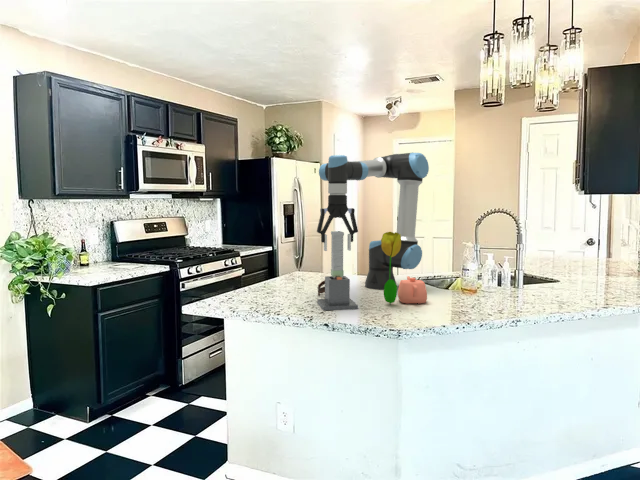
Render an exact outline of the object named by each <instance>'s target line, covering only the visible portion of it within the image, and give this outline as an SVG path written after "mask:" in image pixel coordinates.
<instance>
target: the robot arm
mask: <svg viewBox="0 0 640 480" xmlns="http://www.w3.org/2000/svg"><path fill="white" fill-rule="evenodd" d="M429 169H430V167H429V162H428V159H427V157H426V156H425V155H424V154H423V153H420V152H406V153H393V154H388V155H385V156H379V157H374V158H373V159H367V160H355V161H354V160H353V161H349V160H348V156H347V155H344V154H343V155H342V154H341V155H340V154H339V155H338V154H333V155H330V156H329V157H328V162H327V163H322V164H321V165H320V166H319V168H318V175H319V178H320V179H321V180H322V181H325V182H327V183H328V184H327V185H328V188H327V189H328V190H327V192H328V193H327V194H328V196H327V199H328V200H327V203H328V204H327V208H320V216H319V219H318V220H319V221H318V225H317V229H316V233H318V234H320V238H321V240H320V241H321V243H322V244H323V251H325V252H327V251H328V234H326V233H327V231H328V230H329V227H330V225H331V223H332V221H333V219H334V218H335V219H336V218H338V219H342V221H343V223H344V225H345V228H346V229H347V230H348V233H347V240H346V241H347V249H346V250H347V251H351V250H352V243H353V242H354V234H356V233H358V232H359V231H358V230H359V229H358V226H357V225H358V224H357V221H356V216H355V208H352V207H351V208H349V207H348V195H346V194H348V181H363V180H365V179H366V178H368V177H375V178H381V179H382V178H383V179H384V178H387V179H396V182H397V183H398V184H399V193H398V194H399V198H398V209H397V222H396V232H397V233H399V234H401V248H400V251H399V252H398V253H397V254H396V255H395V256H393V257H391V271H390V256H388V255H386V254H385V253H384V252H383V250H382V247H381V239H379V240H372V241H370V242H369V246H368V248H369V249H368V273H367V275H366V279H365V281H364V282H365V283H364V286H365V287H366V288H367V289H374V290H384V286H385V283H386V282H387V281H388V280H389V274H390V279H391V280H392V279H393V280H394V282H395V283H396V284H397V282H396V279H395V278H396V277H395V275H394V272H393V270H394V269H393V268H397V269H403V270H413V269H416V268H417V267H418V265H419V264H420V263H421V261H422V258H423V250H422V247H421V245H419V243H418V242H419V240H417V238H416V225H417V214H418V201H419V187H420V185H422V184H423V180H424V179H425V178H426V177H427V176H428V175H429V171H430V170H429ZM327 212H328V215H329V216H328V217H327V220H326V221H325V223H324V219H325V216H326V214H327ZM347 212H348V213H349V217H350V220H351V224H350V223H349V220H348V218H347V216H346V214H347ZM323 224H324V226H323ZM351 225H352V226H351Z"/></svg>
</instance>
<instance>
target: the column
mask: <svg viewBox="0 0 640 480" xmlns="http://www.w3.org/2000/svg"><path fill="white" fill-rule="evenodd" d="M330 235H331V244H330V245H331V246H330V247H331V248H330V249H331V253H330V255H331V257H330V258H331V261H330V262H331V264H330V265H331V266H330V276H331V279H336V277H342V279H343V276H345V275H344V273H345V272H344V271H345V270H344V236H345V232H343V231H341V230H340V231H338V230H337V231H336V230H335V231H331V232H330Z"/></svg>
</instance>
